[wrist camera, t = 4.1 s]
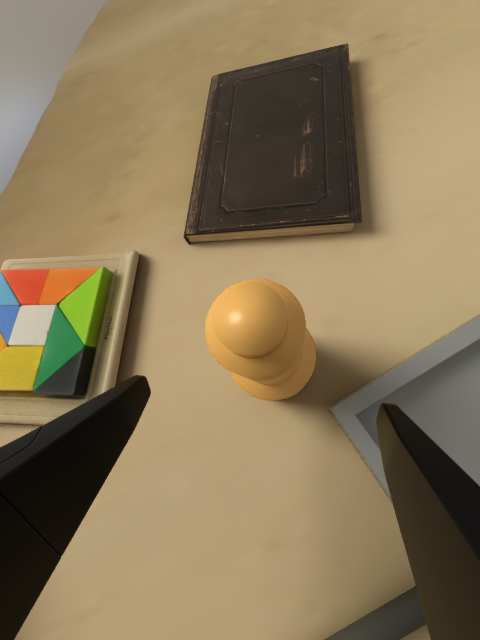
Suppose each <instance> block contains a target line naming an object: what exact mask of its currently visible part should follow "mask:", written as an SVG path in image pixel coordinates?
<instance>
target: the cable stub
mask: <svg viewBox="0 0 480 640" xmlns="http://www.w3.org/2000/svg"><path fill="white" fill-rule="evenodd" d="M425 624H427V623H426V619H425V616H424V612H423V609H422V605H421V602H420V598H419V595H418V591H417V587H416V586H415V587H414V588H412V589H410V590H409V591H407V592H405V593H403V594H402V595H400V596H398V597H397V598H395V599H393V600H391V601H390V602H388V603H386V604H385V605H383V606H381V607H380V608H378V609H376V610H374V611H373V612H371V613H369V614H368V615H366V616H364V617H362V618H361V619H359V620H357V621H356V622H354V623H352V624H351V625H349V626H347V627H345V628H344V629H342V630H340V631H339V632H337V633H335V634H333V635H332V636H330V637H328V638H327V639H325V640H399V639H401V638H403V637H404V636H406V635H408V634H410V633H411V632H413V631H415V630H417V629H418V628H420V627H422V626H423V625H425Z"/></svg>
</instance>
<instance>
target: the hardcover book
mask: <svg viewBox="0 0 480 640" xmlns="http://www.w3.org/2000/svg"><path fill="white" fill-rule="evenodd" d="M361 221H362V218H361V205H360V192H359V179H358V166H357V153H356V140H355V127H354V114H353V101H352V88H351V75H350V61H349V48H348V43H347V44H343V45H339V46H334V47H330V48H326V49H322V50H318V51H314V52H309V53H305V54H301V55H297V56H293V57H289V58H284V59H280V60H276V61H272V62H268V63H263V64H259V65H255V66H251V67H247V68H243V69H238V70H234V71H230V72H226V73H222V74H217V75H214V76H213V77H212V79H211V84H210V90H209V95H208V101H207V107H206V112H205V118H204V124H203V130H202V135H201V141H200V147H199V152H198V158H197V164H196V169H195V175H194V181H193V186H192V192H191V198H190V204H189V209H188V215H187V221H186V226H185V232H184V238H185V240H186V241H187V243H188V244H189V245H190V244H191V242H202V241H217V240H232V239H247V238H261V237H276V236H291V235H306V234H320V233H335V232H350V231H352V230H353V227H354V223H361Z"/></svg>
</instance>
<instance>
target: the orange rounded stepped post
mask: <svg viewBox="0 0 480 640" xmlns="http://www.w3.org/2000/svg"><path fill="white" fill-rule="evenodd" d="M205 336H206V341H207V345H208V347H209V350H210V352H211V354H212V355H213V357H214V358H215V359H216V360H217V362H218V363H219V364H220V365H222V366H223V367H224V368H226V369H227V370H229V371H230V373H231V376H232V378H233V379H234V381H235V382H236V383H237V385H238V386H239V387H240V388H241V389H242V390H244V391H245V392H246V393H248V394H250V395H252V396H253V397H256V398H259V399H263V400H281V399H286V398H289V397H292V396H294V395H296V394H297V393H298V392H300V391H301V390H302V389H303V387H304V386H305V385H306V384H307V382H308V381H309V379H310V378H311V376H312V374H313V371H314V368H315V364H316V348H315V344H314V341H313V338H312V336H311V334H310V333H309V331H308V330H307V328H306V321H305V315H304V312H303V309H302V307H301V305H300V303H299V301H298V300H297V298H296V297H295V296H294V295H293V293H292V292H290V291H289V290H288V289H287V288H285V287H284V286H282V285H280V284H278V283H276V282H273V281H270V280H265V279H251V280H245V281H242V282H239V283H237V284H234V285H232V286H231V287H229V288H228V289H226V290H225V291H224V292H222V293H221V294H220V295H219V296H218V298H217V299H216V300H215V301H214V303H213V304H212V306H211V308H210V310H209V313H208V315H207V319H206V325H205Z"/></svg>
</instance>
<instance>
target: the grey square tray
mask: <svg viewBox="0 0 480 640" xmlns="http://www.w3.org/2000/svg"><path fill="white" fill-rule="evenodd" d="M381 403H392V404H396V405H397V406H398V407H399V408H400V409H401V410H402V411H403V412H404V413H405V414H406V415H407V416H408V417H409V418H410V419H412V420H413V421H414V422H415V423H416V424H417V425H418V426H419V427H420V428H421V429H422V430H423V431H424V432H425V433H426V434H427V435H428V436H429V437H430V438H431V439H432V440H433V441H434V442H435V443H436V444H437V445H438V446H439V447H440V448H441V449H442V450H443V451H444V452H445V453H446V454H447V455H449V456H450V457H451V458H452V459H453V460H454V461H455V462H456V463H457V464H458V465H459V466H460V467H461V468H462V469H463V470H464V471H465V472H466V473H467V474H468V475H469V476H470V477H471V478H472V479H473V480H474V481H475V482H476V483H477V484H478V485H479V486H480V314H479V315H478V316H476V317H474V318H473V319H471V320H470V321H468V322H466V323H465V324H463V325H461V326H460V327H458V328H457V329H455V330H453V331H452V332H450V333H448V334H447V335H445V336H444V337H442V338H440V339H439V340H437V341H435V342H434V343H432V344H431V345H429V346H427V347H426V348H424V349H422V350H421V351H419V352H417V353H416V354H414V355H413V356H411V357H409V358H408V359H406V360H404V361H403V362H401V363H400V364H398V365H396V366H395V367H393V368H391V369H390V370H388V371H387V372H385V373H383V374H382V375H380V376H378V377H377V378H375V379H374V380H372V381H370V382H369V383H367V384H365V385H364V386H362V387H361V388H359V389H357V390H356V391H354V392H352V393H351V394H349V395H348V396H346V397H344V398H343V399H341V400H339V401H338V402H336V403H334V404H333V405H331V406H330V407H328V408H329V410H330V411H331V413H332V414H333V416H334V417H335V419H336V420H337V422H338V423H339V425H340V426H341V428H342V429H343V431H344V432H345V434H346V435H347V437H348V438H349V440H350V441H351V443H352V444H353V445H354V447H355V448H356V450H357V451H358V453H359V454H360V456H361V457H362V459H363V460H364V462H365V463H366V465H367V466H368V468H369V469H370V471H371V472H372V474H373V475H374V477H375V478H376V480H377V481H378V483H379V484H380V486H381V487H382V489H383V490H384V491H385V493H386V494H387V496H388V497H389V499H390V500H391V502H392V499H391V496H390V492H389V488H388V485H387V481H386V477H385V474H384V468H383V463H382V457H381V451H380V445H379V439H378V433H377V427H376V419H377V415H378V411H379V407H380V404H381Z"/></svg>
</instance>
